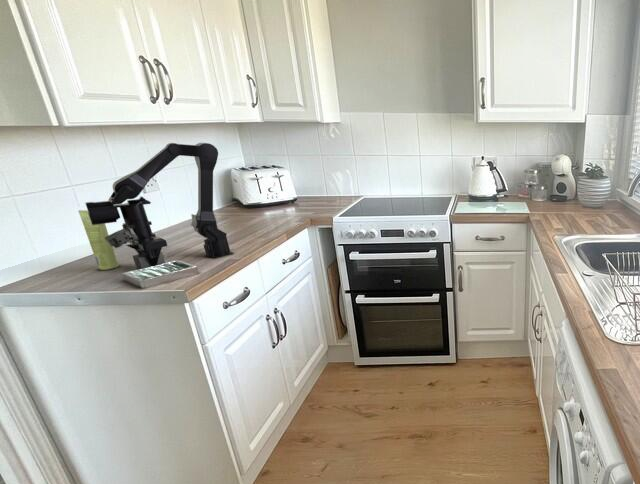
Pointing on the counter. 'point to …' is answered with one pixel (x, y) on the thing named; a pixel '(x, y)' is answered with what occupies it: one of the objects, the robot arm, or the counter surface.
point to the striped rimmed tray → (159, 273)
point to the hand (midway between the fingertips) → (151, 265)
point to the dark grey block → (146, 260)
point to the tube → (99, 243)
